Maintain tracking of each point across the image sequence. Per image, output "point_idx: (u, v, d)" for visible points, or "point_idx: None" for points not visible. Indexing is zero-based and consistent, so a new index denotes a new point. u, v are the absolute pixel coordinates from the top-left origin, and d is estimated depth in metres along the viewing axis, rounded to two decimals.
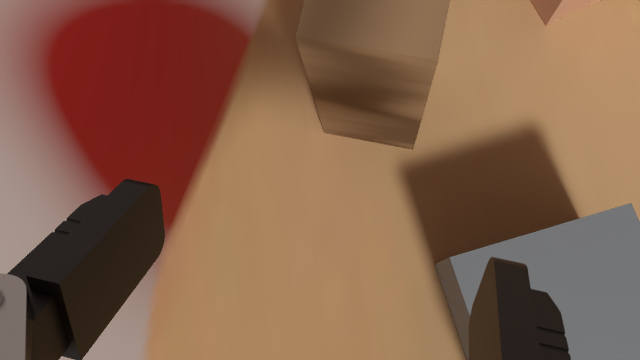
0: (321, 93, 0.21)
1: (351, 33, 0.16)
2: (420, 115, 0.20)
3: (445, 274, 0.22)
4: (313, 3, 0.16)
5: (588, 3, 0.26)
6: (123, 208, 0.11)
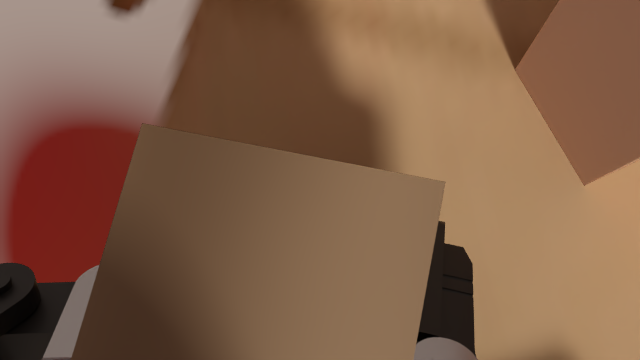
0: None
1: None
2: None
3: None
4: (96, 351, 0.07)
5: None
6: None
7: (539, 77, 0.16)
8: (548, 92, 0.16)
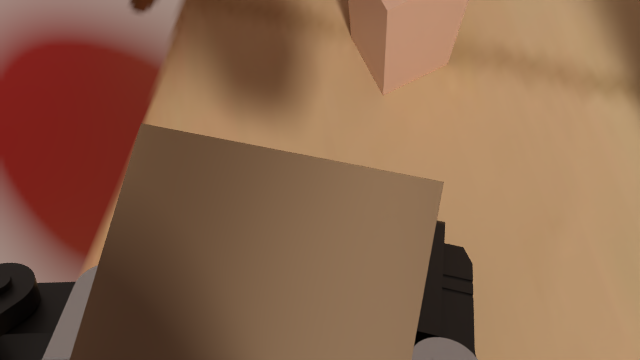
0: None
1: None
2: None
3: None
4: (95, 350, 0.07)
5: (415, 77, 0.32)
6: None
7: (356, 39, 0.32)
8: (361, 47, 0.32)
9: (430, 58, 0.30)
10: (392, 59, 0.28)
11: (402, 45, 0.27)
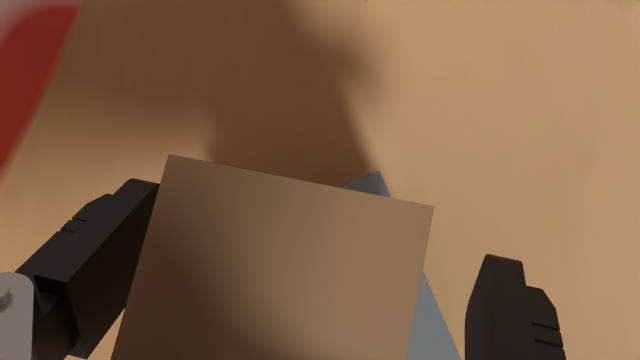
0: None
1: None
2: None
3: None
4: (132, 353, 0.08)
5: None
6: (129, 207, 0.11)
7: None
8: None
9: None
10: None
11: None
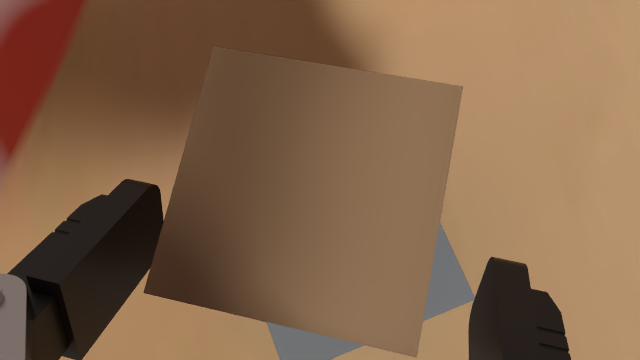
0: None
1: (250, 290, 0.08)
2: None
3: None
4: (181, 223, 0.09)
5: None
6: (123, 208, 0.11)
7: None
8: None
9: None
10: None
11: None
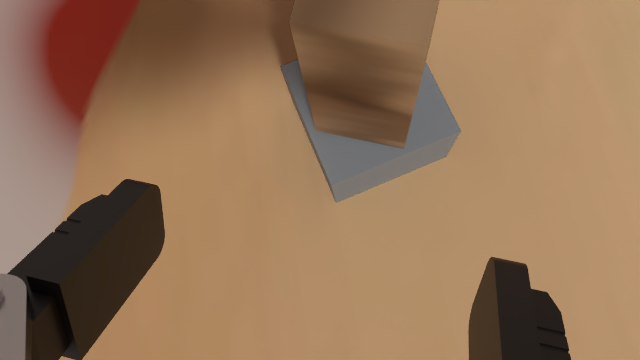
0: (314, 85, 0.21)
1: (344, 18, 0.16)
2: (411, 109, 0.21)
3: (290, 94, 0.29)
4: None
5: None
6: (123, 208, 0.11)
7: None
8: None
9: None
10: None
11: None
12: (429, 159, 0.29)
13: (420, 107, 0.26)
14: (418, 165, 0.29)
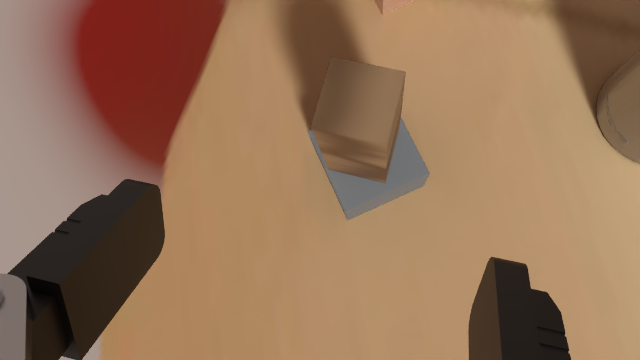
0: (325, 150, 0.34)
1: (341, 126, 0.29)
2: (385, 166, 0.34)
3: None
4: (321, 108, 0.30)
5: (404, 3, 0.47)
6: (123, 208, 0.11)
7: None
8: None
9: None
10: None
11: None
12: (411, 189, 0.42)
13: (402, 158, 0.39)
14: (404, 193, 0.42)
